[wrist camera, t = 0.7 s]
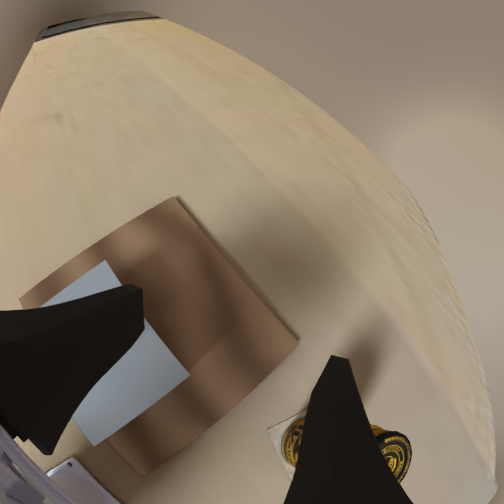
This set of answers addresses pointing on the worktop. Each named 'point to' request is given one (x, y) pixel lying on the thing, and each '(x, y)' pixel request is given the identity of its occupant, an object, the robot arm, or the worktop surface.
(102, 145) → the worktop surface
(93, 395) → the cover
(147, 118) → the worktop surface
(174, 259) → the board
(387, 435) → the condiment
